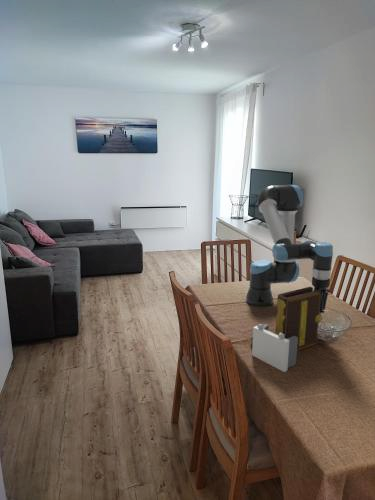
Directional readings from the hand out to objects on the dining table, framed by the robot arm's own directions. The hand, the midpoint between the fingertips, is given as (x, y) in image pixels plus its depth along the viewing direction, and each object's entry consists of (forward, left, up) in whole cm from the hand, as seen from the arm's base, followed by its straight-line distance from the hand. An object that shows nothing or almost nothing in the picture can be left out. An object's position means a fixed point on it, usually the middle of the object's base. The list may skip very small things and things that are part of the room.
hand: (317, 325), depth 169 cm
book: (+15, 0, -5) cm, 16 cm away
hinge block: (+27, -13, -5) cm, 30 cm away
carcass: (+32, 0, -5) cm, 32 cm away
